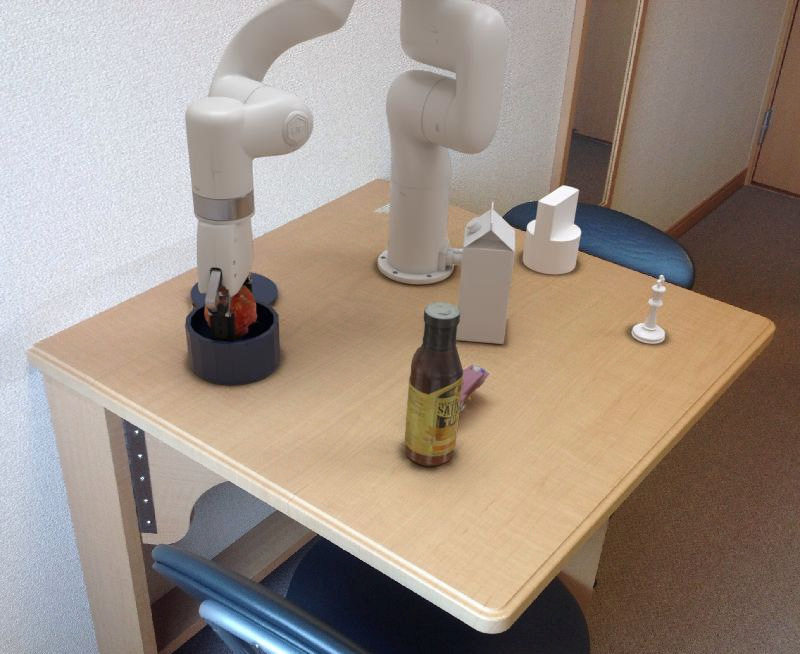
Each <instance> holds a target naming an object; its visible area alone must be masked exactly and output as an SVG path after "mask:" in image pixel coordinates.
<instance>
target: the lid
mask: <svg viewBox="0 0 800 654" xmlns="http://www.w3.org/2000/svg"><path fill="white" fill-rule="evenodd" d="M251 274H252V281H251V283H249V284H252V294H253V297H254V299H255V300H259V301H262V302H265V303H266V304H268V305H270V306H272V305H273V304H274V302H275V301H276V300H277V298H278V293H279V292H278V291H279V290H278V286H277V284H276V283H275V282H274V281H273V280H272V279H270V278H268V276H267V277H266V276H265V275H263V274H259V273H256V272H251ZM206 294H207V293H205V294H201V293H200V292H199V288H198V281H197V282H196V283H195V284H194V285H193V286H192V288H191V290H190V300H191V302H192V303H193V305H194V306H195V307H198V306H199V305H201V304H203V303H205V298H206Z"/></svg>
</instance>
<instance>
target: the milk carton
mask: <svg viewBox="0 0 800 654" xmlns="http://www.w3.org/2000/svg"><path fill="white" fill-rule="evenodd" d="M494 204H495V202H494V201H492V202H491V208H490V209H489V210H487V211H486V212H484V213H483V214H481V215H480V216H476V217H473V218H472V219H470V220H469V222H468V223H467V224H466V225H465V227H464V235H463V236H464V237H463V244H462V249H463V254H462V265H460V277H459V289H458V301H457V308H458V309H459V310H460V322H459V324H458V325H457V334H456V341H463V342H476V343H484V344H485V343H487V344H499V345H503V344H504V343H505V336H506V329H507V328H506V327H507V319H508V311H509V304H510V295H511V288H512V278H513V270H514V261H515V254H516V229H515V228H513V226H511V225H510V224H509V223H508V222H507V221H506V220H505V219H504V218H503V217H502V216H501V215H500V214H499V213H498V212H497V211H496V210H495V209H494V206H495V205H494Z"/></svg>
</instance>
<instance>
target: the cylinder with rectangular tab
mask: <svg viewBox="0 0 800 654" xmlns="http://www.w3.org/2000/svg"><path fill="white" fill-rule="evenodd" d="M579 193H580V189H578V188H576V187H572V186H568V185H563V184H562V185H561V186H559V187H558V188H557V189H555V190H553V191H551V192H550V193H549V194H547V195H545V196H544V197H542V198H541V199H539V200H537V209H536V216H535V219H533V220H531V221H529V222H528V224H527V225H526V230H525V231H526V232H525V238H524V245H523V246H524V247H523V253H522V262H523V264H524V265H525V266H526V267H527V268H529V270H532V271H533V272H537V273H540V274H544V275H564V274H568V273H570V272H572V271H574V270H575V268H576V265H577V259H578V255H579V247H580V241H581V236H582V230H581V228H580V226H578V225H577V224H575V218H576V211H577V208H578V207H577V206H578V199H579V195H580V194H579Z"/></svg>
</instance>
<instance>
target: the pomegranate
mask: <svg viewBox="0 0 800 654" xmlns="http://www.w3.org/2000/svg"><path fill="white" fill-rule="evenodd" d="M220 292H228V289H226V288H225V287H221V288H220ZM219 301H220V302H219V303H222V304H223V305H224V306H225V307H226V297H222V296H219ZM231 314H234V315H235V329H236V339H239V338H241V337H242V336H244V335H246V334H247V333H248V326H249V325H251V324H253V323H255V322H256V323H259V322H258V321H256V319H257V314H256V303H255V300H254V297H253V295H252V293H251V292H250V290H249V289H248V288H247V287H246V286H244V285H242V286H241V288H240V290H239V291H238V293H237V294H235V295H234V296H233V302H232V313H231ZM204 315H205V319H206V321H207V322H208V325H209V327H210V316H209V314H208V309H207V306H206V305H205V312H204ZM210 328H211V327H210Z"/></svg>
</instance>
